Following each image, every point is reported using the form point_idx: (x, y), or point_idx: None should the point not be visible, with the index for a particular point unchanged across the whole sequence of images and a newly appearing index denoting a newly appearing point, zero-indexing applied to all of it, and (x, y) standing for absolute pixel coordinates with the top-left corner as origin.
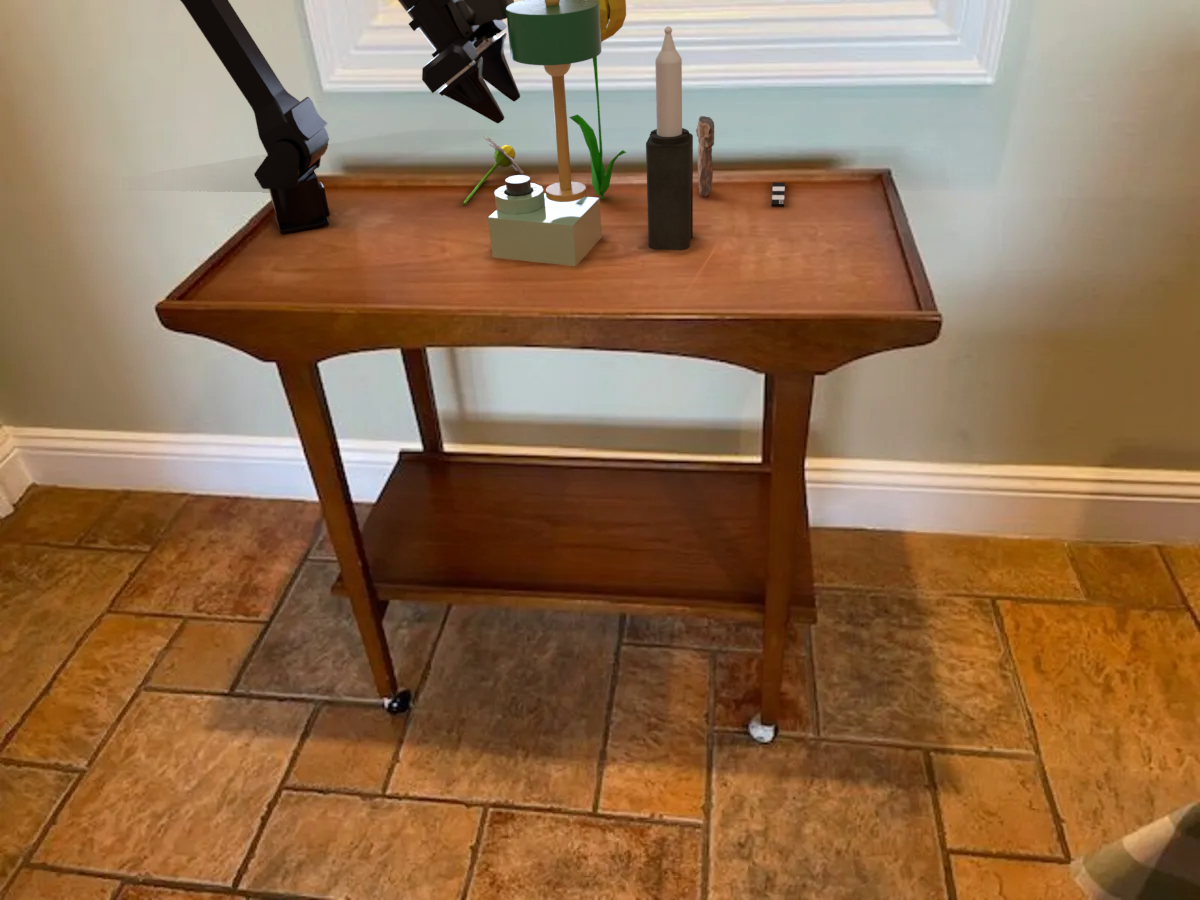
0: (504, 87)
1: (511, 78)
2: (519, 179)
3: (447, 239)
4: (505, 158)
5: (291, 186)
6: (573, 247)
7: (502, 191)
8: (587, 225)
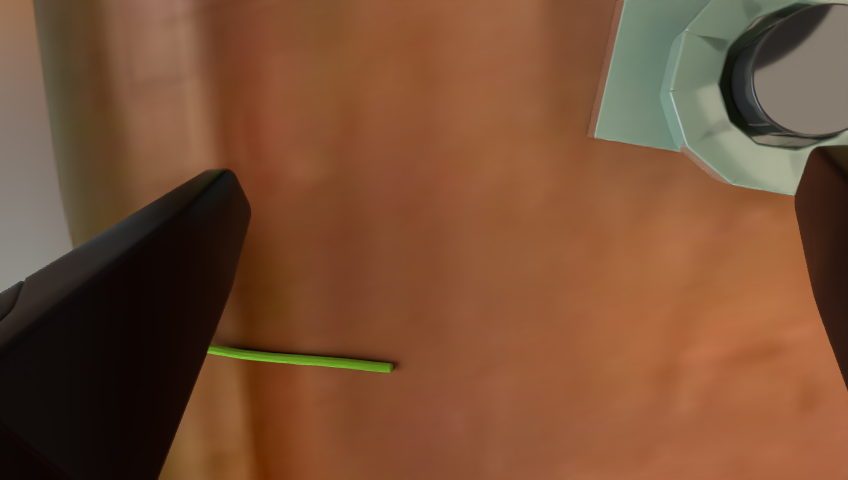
0: (196, 292)
1: (137, 241)
2: (828, 60)
3: (666, 360)
4: None
5: None
6: None
7: (800, 156)
8: None
